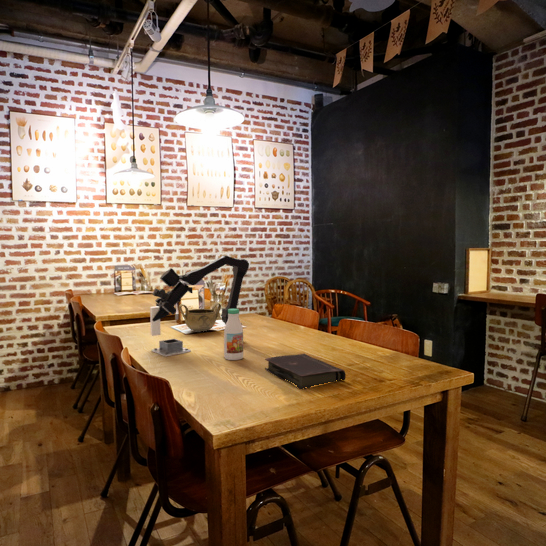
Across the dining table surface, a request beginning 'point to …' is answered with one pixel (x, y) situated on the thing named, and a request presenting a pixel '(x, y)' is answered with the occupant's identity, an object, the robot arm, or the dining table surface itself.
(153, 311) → the rail post
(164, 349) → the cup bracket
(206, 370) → the dining table surface
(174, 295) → the robot arm
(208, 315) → the ceramic bowl
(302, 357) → the diary
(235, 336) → the milk bottle
